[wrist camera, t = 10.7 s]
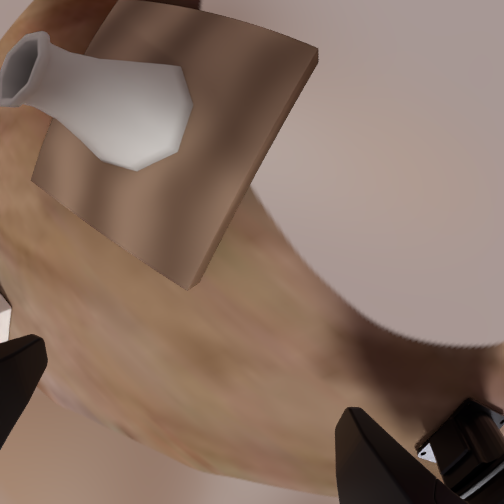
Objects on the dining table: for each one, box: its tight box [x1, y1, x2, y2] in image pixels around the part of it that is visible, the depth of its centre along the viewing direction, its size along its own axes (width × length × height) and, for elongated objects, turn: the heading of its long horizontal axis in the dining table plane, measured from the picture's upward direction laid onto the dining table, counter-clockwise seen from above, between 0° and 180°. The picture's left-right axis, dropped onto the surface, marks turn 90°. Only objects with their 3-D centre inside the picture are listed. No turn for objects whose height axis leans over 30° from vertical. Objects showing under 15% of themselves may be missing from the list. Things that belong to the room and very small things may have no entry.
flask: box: [0, 31, 193, 171], centre depth 12 cm, size 7×7×10 cm
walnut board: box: [31, 0, 318, 291], centre depth 18 cm, size 16×16×2 cm
